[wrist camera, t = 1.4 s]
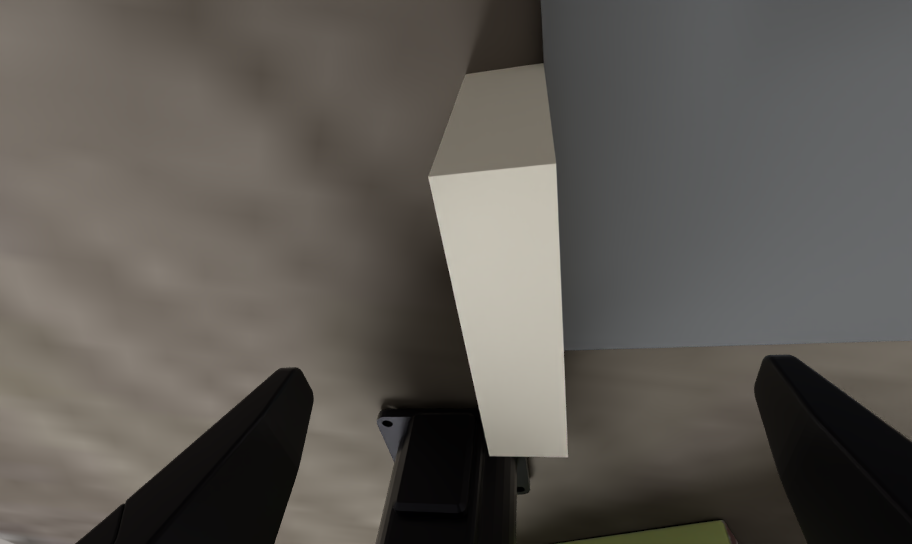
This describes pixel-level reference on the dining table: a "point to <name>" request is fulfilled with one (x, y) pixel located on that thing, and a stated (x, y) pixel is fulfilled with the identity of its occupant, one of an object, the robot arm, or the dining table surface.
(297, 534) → the dining table surface
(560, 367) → the cream slab
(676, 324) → the rubber mat
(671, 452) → the dining table surface
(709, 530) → the protein box
